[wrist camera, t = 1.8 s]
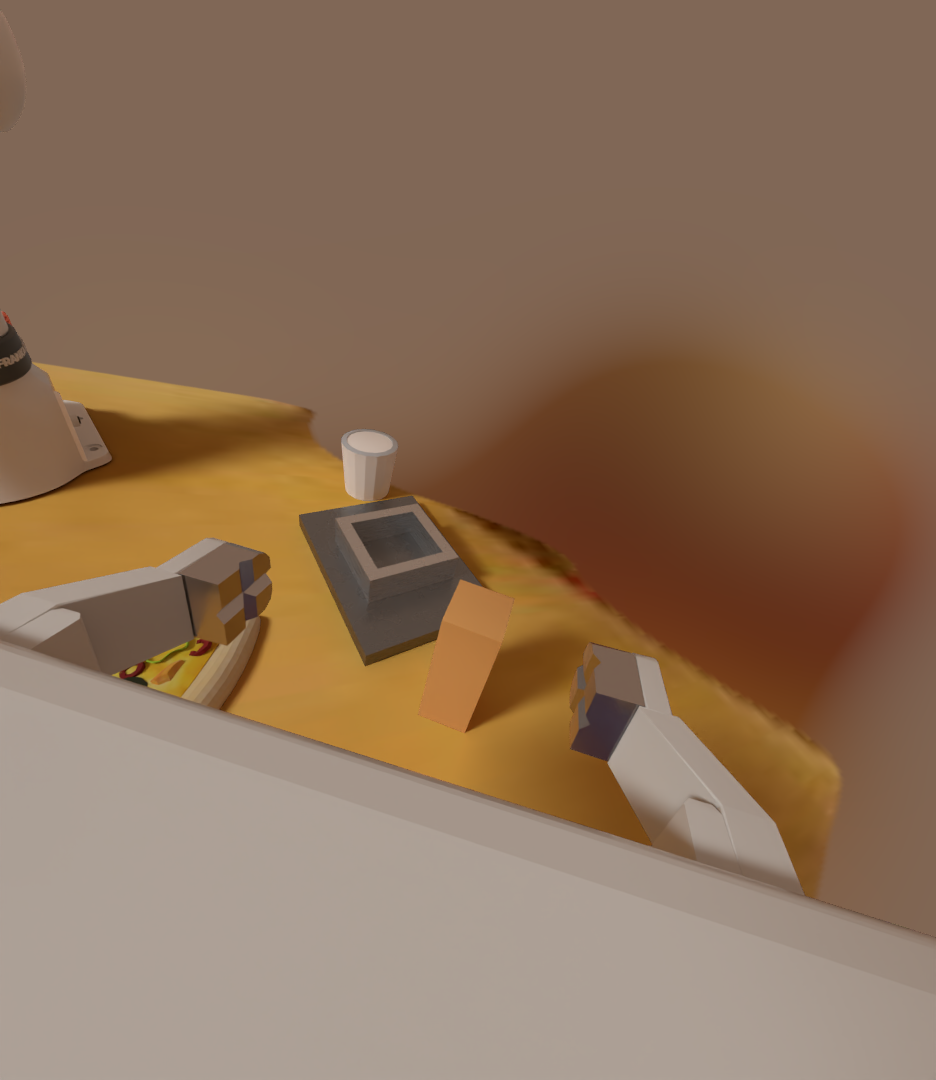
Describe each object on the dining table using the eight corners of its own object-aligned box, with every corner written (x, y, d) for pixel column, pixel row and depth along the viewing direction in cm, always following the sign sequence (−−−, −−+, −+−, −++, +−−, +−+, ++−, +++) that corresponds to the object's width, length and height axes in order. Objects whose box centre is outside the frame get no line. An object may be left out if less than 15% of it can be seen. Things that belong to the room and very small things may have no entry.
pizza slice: (149, 821, 26) (135, 803, 24) (-170, 733, 26) (-209, 709, 24) (278, 628, 38) (275, 607, 36) (59, 569, 38) (45, 544, 36)
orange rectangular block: (417, 714, 34) (441, 620, 27) (434, 674, 37) (460, 579, 30) (464, 733, 34) (502, 642, 26) (477, 690, 37) (514, 598, 29)
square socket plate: (299, 525, 48) (297, 492, 45) (410, 505, 55) (415, 475, 52) (365, 666, 36) (367, 633, 34) (495, 617, 44) (506, 587, 41)
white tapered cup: (346, 506, 52) (347, 456, 48) (335, 475, 57) (335, 428, 53) (399, 501, 55) (405, 454, 51) (385, 473, 60) (389, 427, 55)
